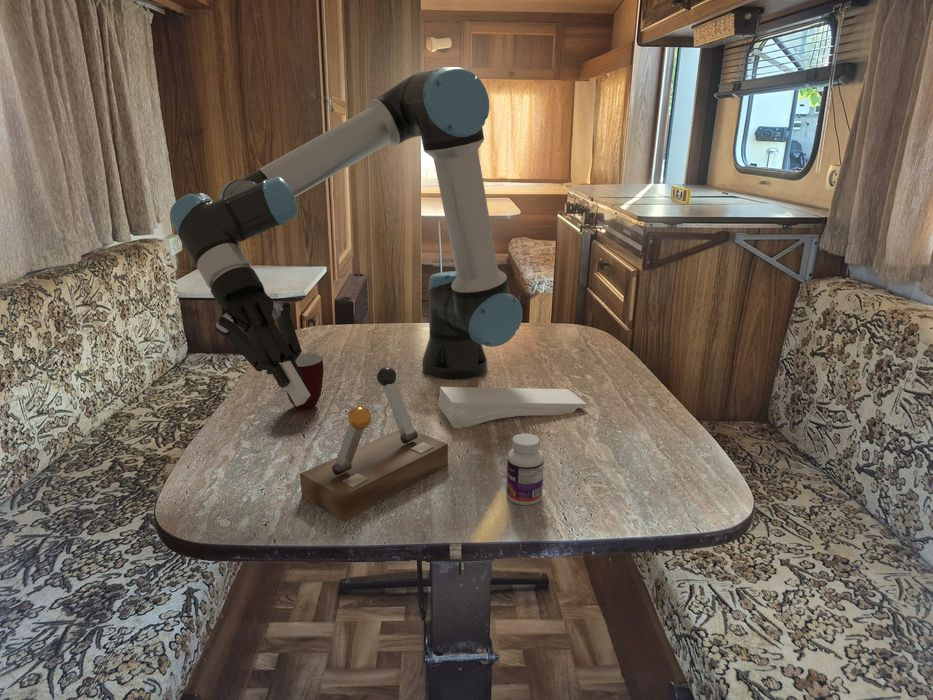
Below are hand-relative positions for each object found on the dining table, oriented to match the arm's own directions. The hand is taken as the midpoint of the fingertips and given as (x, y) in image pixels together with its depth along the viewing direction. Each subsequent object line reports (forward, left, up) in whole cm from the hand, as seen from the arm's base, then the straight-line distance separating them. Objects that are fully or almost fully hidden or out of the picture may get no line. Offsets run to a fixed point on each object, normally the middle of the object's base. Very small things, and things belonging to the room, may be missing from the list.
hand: (303, 400), depth 101 cm
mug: (-2, -29, -14) cm, 32 cm away
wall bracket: (-41, -15, -14) cm, 46 cm away
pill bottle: (-30, +16, -14) cm, 37 cm away
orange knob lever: (-4, +7, -8) cm, 12 cm away
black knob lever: (-16, 0, -8) cm, 18 cm away
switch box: (-10, +4, -14) cm, 17 cm away
